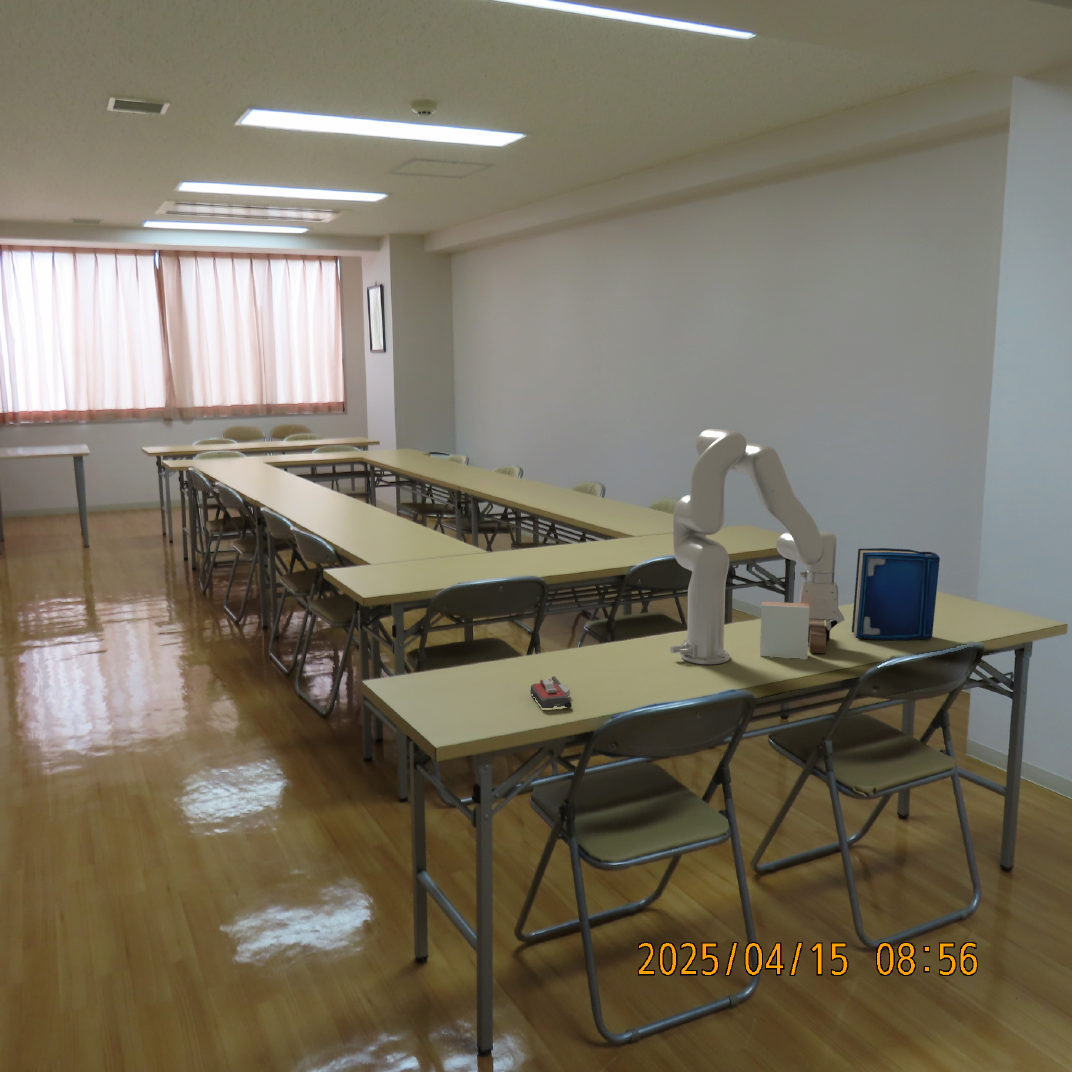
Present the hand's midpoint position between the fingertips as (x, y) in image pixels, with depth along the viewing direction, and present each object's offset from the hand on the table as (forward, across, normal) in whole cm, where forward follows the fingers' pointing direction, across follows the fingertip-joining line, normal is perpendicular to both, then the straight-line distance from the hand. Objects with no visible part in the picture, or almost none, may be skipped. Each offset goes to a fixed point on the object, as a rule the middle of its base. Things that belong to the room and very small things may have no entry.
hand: (816, 641), depth 254 cm
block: (0, 0, 0) cm, 0 cm away
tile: (+1, -9, -12) cm, 15 cm away
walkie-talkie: (+3, -62, -55) cm, 83 cm away
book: (+1, +21, +12) cm, 24 cm away
